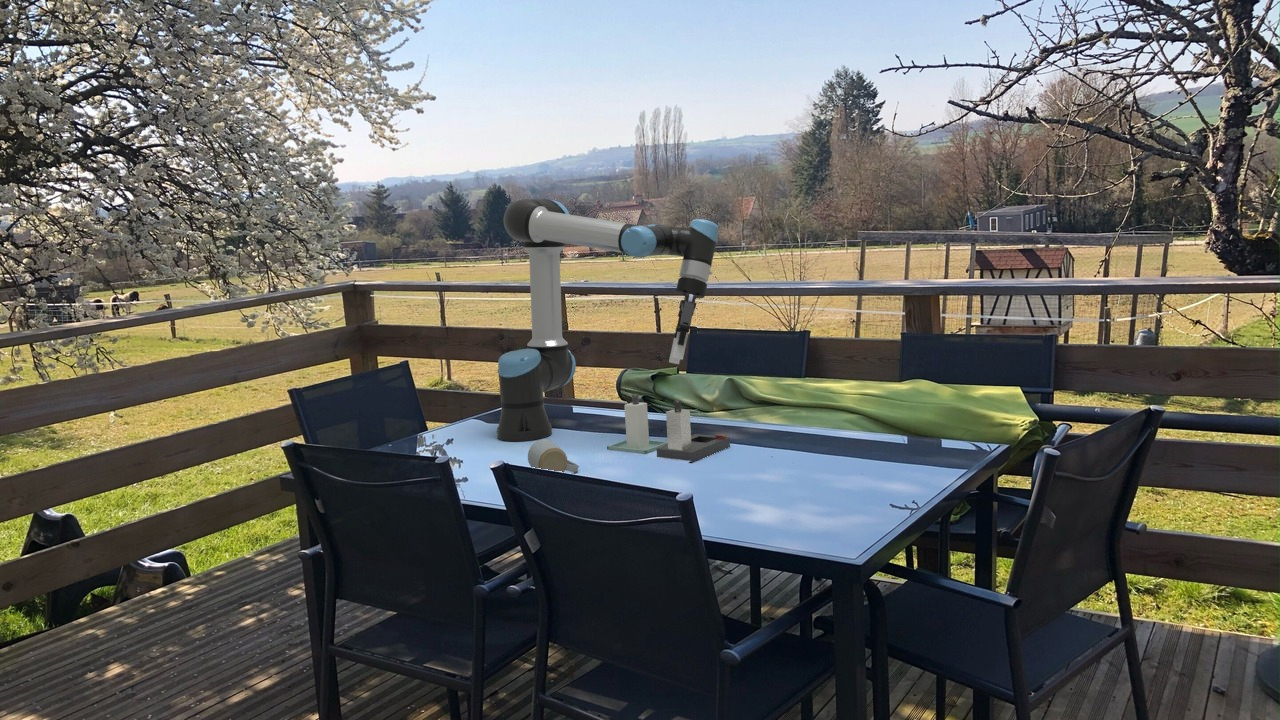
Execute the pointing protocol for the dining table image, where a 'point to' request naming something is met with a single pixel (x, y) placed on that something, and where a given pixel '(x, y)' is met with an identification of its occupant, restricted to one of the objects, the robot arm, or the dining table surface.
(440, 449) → the dining table surface
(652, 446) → the tray
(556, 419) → the dining table surface
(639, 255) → the robot arm
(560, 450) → the ceramic mug
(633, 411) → the ivory plug
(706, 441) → the pdu strip
